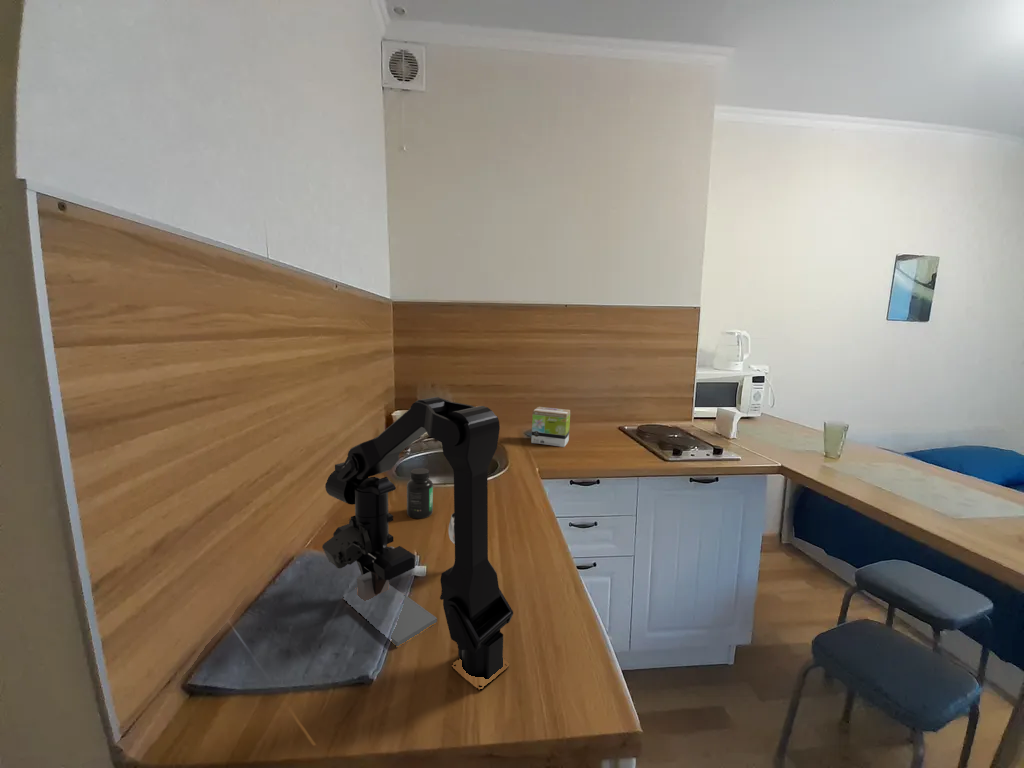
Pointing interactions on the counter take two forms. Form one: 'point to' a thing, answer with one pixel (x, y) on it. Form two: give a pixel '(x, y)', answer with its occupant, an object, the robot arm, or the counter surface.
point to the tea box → (550, 426)
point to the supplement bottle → (419, 494)
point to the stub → (368, 587)
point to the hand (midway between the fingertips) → (373, 590)
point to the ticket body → (411, 621)
